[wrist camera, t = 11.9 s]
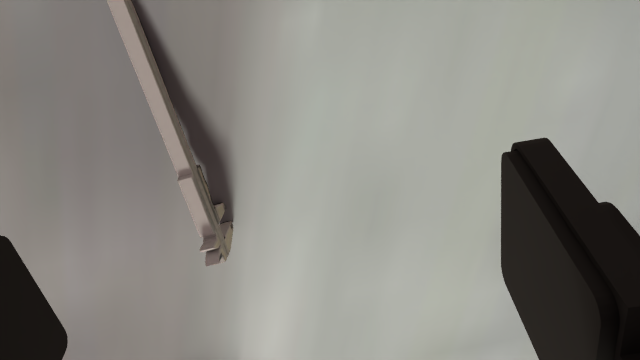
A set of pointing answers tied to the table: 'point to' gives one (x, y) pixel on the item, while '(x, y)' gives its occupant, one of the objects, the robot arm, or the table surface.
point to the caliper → (174, 137)
